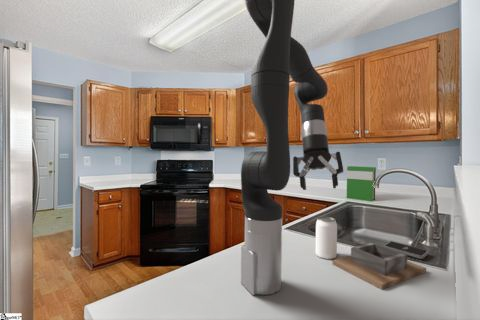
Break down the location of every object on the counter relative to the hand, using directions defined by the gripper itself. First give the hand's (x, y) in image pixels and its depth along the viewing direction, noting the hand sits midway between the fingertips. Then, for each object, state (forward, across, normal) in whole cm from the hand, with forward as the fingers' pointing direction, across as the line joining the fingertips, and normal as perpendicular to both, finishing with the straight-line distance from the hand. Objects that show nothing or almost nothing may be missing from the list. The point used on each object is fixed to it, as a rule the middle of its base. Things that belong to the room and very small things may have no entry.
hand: (319, 188), depth 72 cm
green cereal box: (-9, +16, +128) cm, 130 cm away
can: (+20, -1, +13) cm, 24 cm away
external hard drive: (+20, +23, +27) cm, 41 cm away
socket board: (+22, +13, +11) cm, 28 cm away
